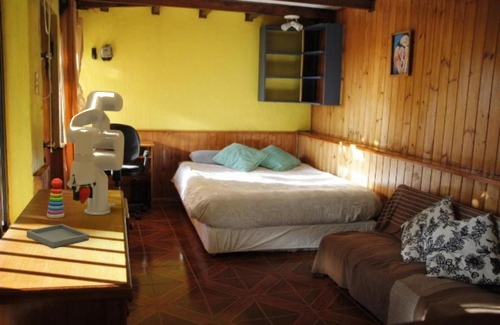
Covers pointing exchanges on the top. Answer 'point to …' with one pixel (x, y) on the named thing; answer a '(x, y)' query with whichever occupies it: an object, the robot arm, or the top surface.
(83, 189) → the strawberry
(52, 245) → the tray
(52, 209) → the stacking toy
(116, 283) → the top surface
